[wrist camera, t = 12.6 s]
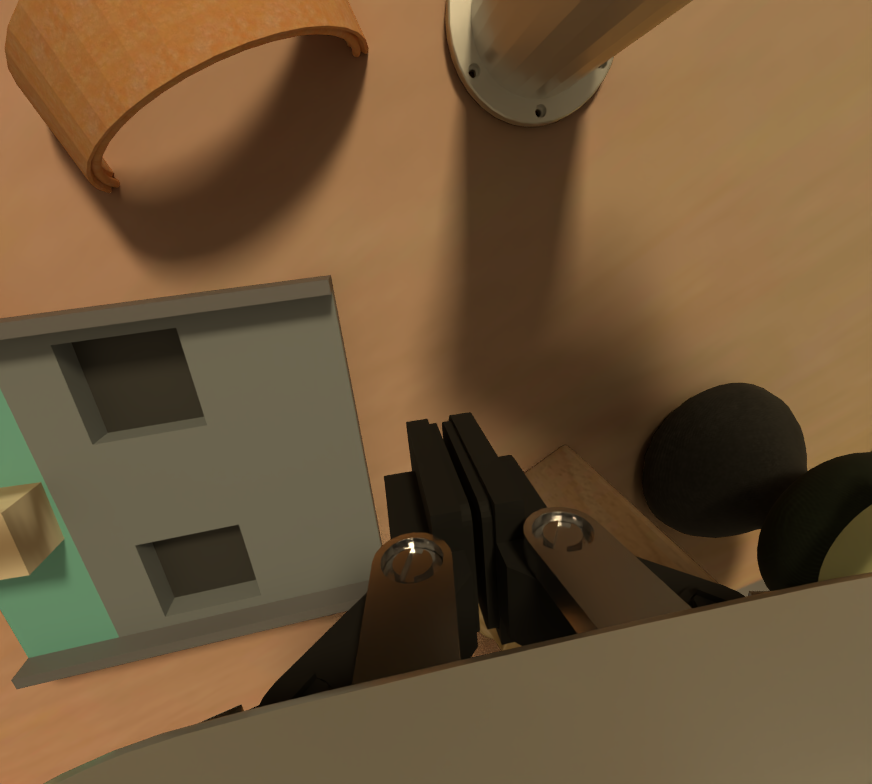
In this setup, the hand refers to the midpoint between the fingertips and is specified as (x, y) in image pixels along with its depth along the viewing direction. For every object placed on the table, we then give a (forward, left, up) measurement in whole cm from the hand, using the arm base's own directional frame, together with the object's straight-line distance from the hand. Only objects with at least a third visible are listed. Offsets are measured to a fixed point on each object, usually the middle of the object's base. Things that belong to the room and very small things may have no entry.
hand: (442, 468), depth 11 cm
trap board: (+10, -18, -26) cm, 33 cm away
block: (+10, -29, -23) cm, 39 cm away
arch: (-17, -8, -26) cm, 32 cm away
